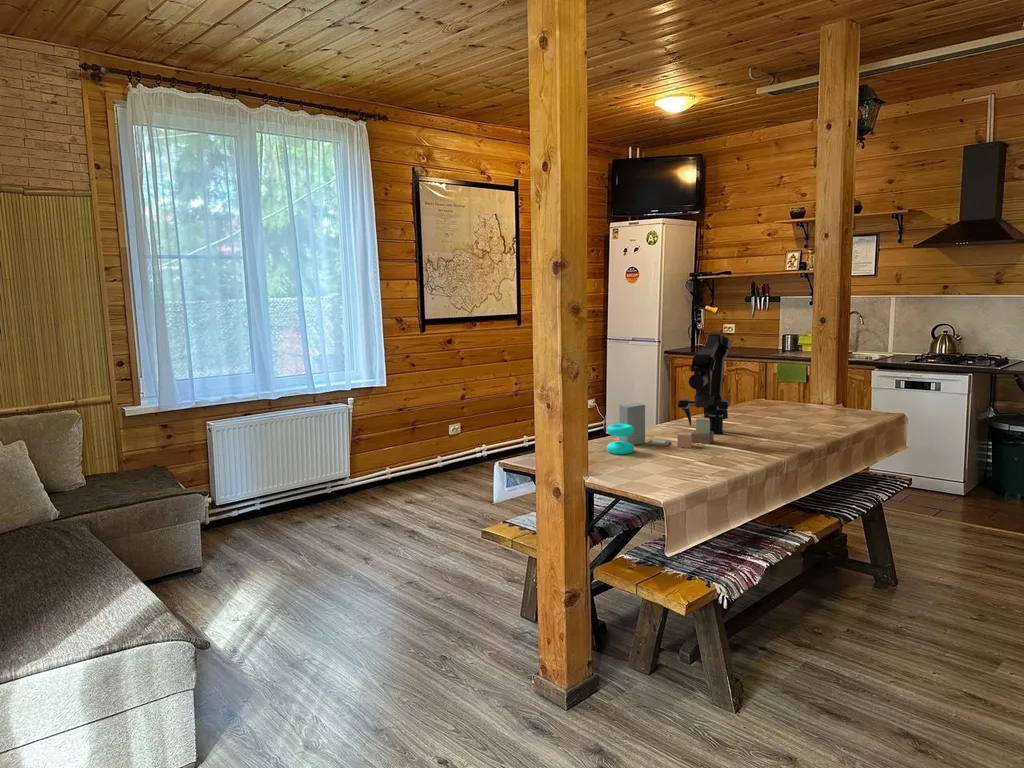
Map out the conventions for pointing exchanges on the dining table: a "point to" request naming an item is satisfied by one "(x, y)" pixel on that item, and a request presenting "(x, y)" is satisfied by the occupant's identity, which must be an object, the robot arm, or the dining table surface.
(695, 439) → the walnut block
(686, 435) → the terracotta cube
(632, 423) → the skincare box
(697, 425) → the sage cube
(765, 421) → the dining table surface
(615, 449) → the donuts
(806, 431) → the dining table surface
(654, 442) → the card
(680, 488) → the dining table surface
